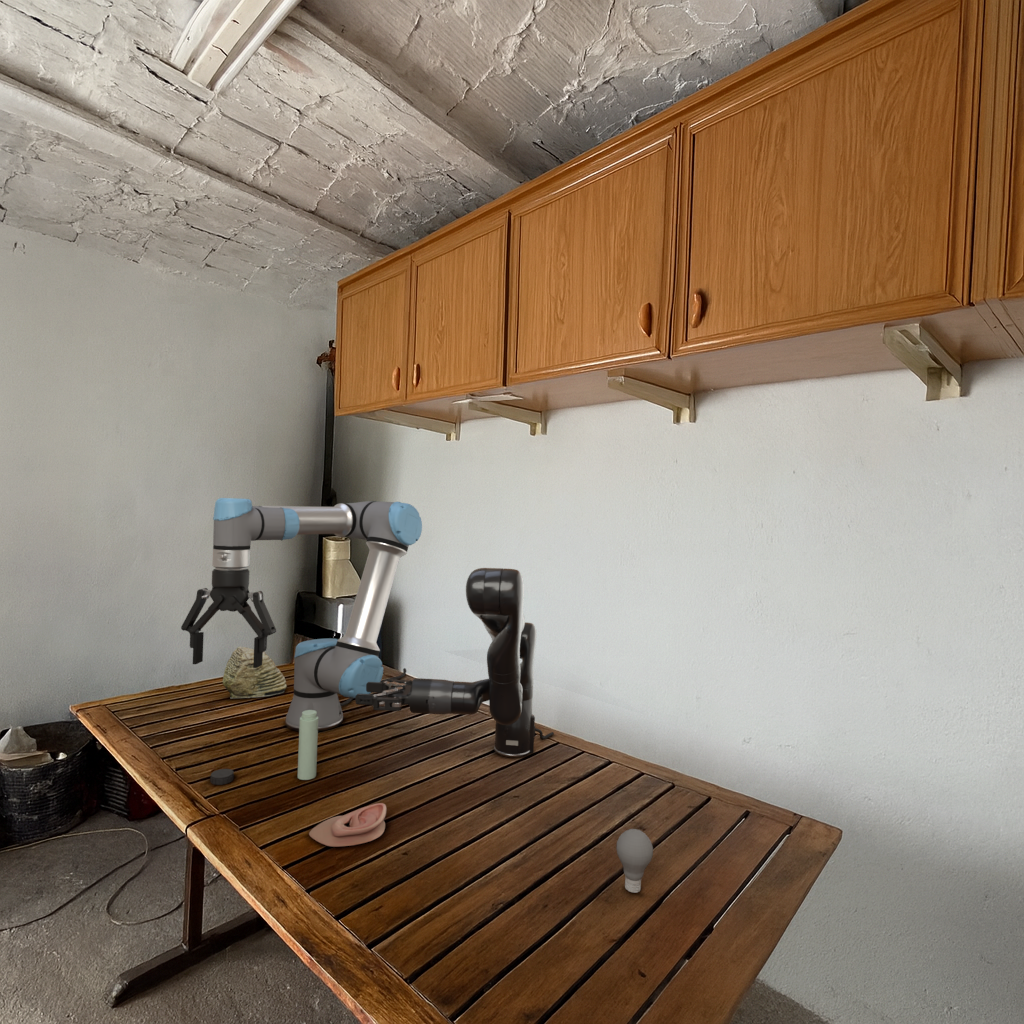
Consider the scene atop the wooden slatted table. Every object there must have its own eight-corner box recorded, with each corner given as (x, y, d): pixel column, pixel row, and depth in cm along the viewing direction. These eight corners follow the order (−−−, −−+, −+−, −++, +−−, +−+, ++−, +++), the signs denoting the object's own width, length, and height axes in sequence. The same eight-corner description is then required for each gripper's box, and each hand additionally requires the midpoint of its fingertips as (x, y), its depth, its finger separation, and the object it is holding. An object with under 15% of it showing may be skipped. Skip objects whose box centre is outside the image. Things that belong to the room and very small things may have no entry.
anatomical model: (301, 820, 116) (331, 792, 127) (300, 842, 116) (330, 812, 127) (368, 831, 113) (393, 801, 124) (368, 853, 113) (392, 821, 124)
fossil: (218, 695, 195) (220, 647, 195) (278, 685, 208) (279, 640, 207) (228, 703, 189) (230, 653, 188) (289, 692, 201) (290, 645, 201)
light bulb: (610, 879, 108) (613, 822, 108) (644, 879, 109) (647, 822, 109) (619, 902, 102) (622, 840, 102) (655, 901, 103) (658, 840, 103)
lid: (228, 773, 143) (229, 766, 143) (237, 780, 139) (237, 773, 139) (207, 779, 139) (207, 772, 139) (215, 787, 136) (215, 779, 136)
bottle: (305, 781, 140) (307, 716, 140) (293, 776, 143) (296, 712, 142) (319, 775, 144) (322, 711, 143) (308, 770, 146) (310, 707, 146)
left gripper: (165, 567, 136) (162, 665, 136) (279, 573, 134) (275, 672, 135) (185, 563, 143) (182, 657, 144) (293, 569, 142) (290, 663, 142)
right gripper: (438, 670, 149) (370, 667, 149) (428, 689, 134) (352, 686, 135) (437, 702, 149) (369, 698, 149) (427, 724, 135) (351, 720, 135)
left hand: (227, 664), depth 139 cm, fingers open, 13 cm apart
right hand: (361, 692), depth 142 cm, fingers open, 8 cm apart
